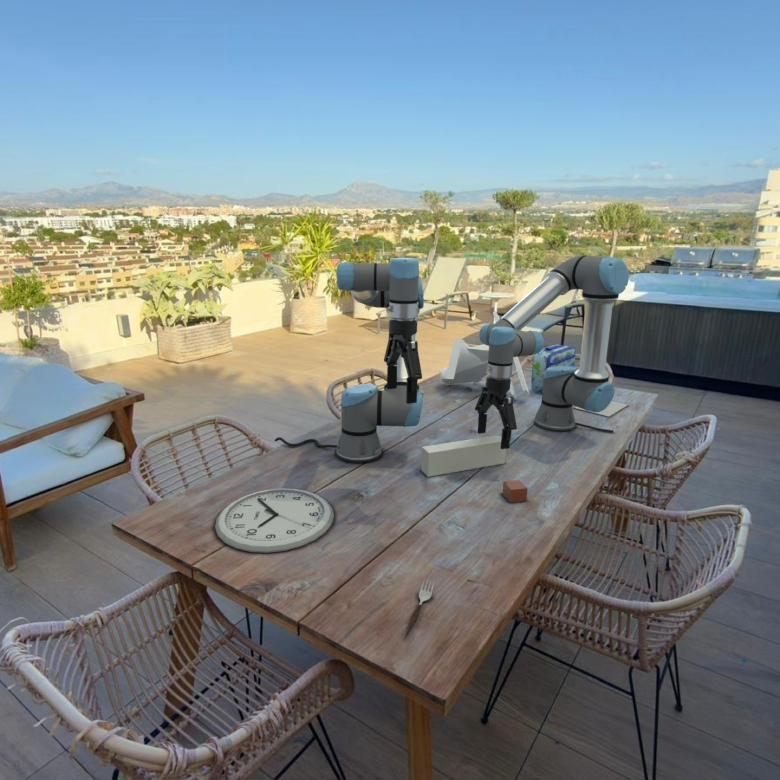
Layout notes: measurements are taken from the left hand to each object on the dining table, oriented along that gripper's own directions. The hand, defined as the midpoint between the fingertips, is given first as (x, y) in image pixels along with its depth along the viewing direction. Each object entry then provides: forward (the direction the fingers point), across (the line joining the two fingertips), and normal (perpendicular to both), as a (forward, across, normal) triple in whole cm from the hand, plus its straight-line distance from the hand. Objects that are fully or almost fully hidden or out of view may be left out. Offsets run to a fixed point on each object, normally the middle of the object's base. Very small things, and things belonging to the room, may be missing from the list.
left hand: (401, 395), depth 144 cm
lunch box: (+29, -66, +108) cm, 130 cm away
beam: (+29, -6, +25) cm, 39 cm away
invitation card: (+29, -38, +111) cm, 121 cm away
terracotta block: (+29, +16, +29) cm, 44 cm away
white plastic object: (+29, -73, +72) cm, 107 cm away
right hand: (+21, -6, +36) cm, 42 cm away
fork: (+29, +48, -16) cm, 58 cm away
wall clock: (+29, +4, -36) cm, 47 cm away
